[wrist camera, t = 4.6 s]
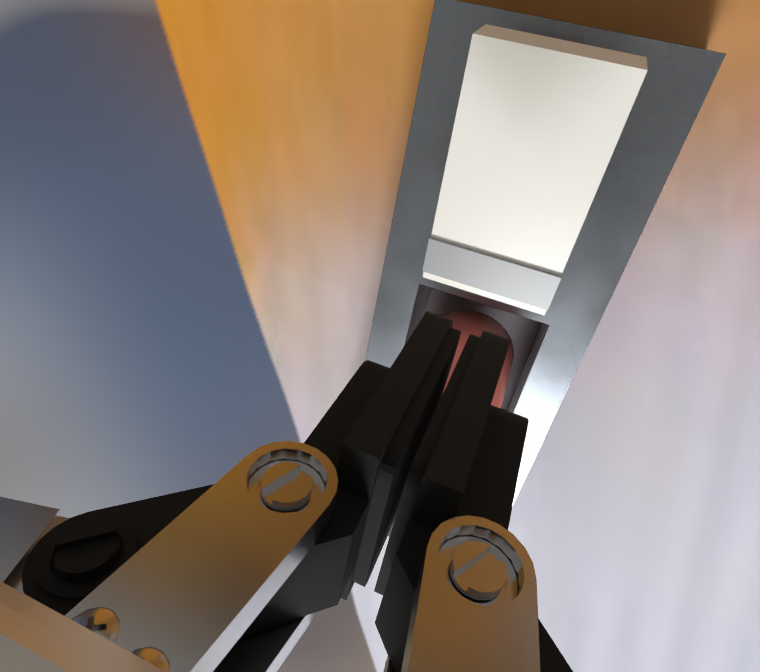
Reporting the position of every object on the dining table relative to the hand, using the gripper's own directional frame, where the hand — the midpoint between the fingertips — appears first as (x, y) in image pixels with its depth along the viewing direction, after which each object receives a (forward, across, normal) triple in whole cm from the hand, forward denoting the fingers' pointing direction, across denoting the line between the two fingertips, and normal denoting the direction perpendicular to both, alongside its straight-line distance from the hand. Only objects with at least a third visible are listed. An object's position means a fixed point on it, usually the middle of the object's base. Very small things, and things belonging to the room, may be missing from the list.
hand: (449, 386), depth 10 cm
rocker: (+7, 0, -2) cm, 7 cm away
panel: (+12, 0, +5) cm, 13 cm away
